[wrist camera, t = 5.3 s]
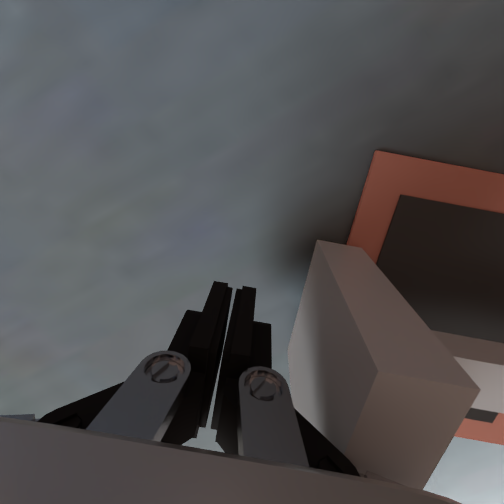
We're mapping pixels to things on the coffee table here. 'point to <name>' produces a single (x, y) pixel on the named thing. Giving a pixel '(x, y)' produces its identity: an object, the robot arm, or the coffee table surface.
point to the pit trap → (440, 251)
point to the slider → (383, 369)
